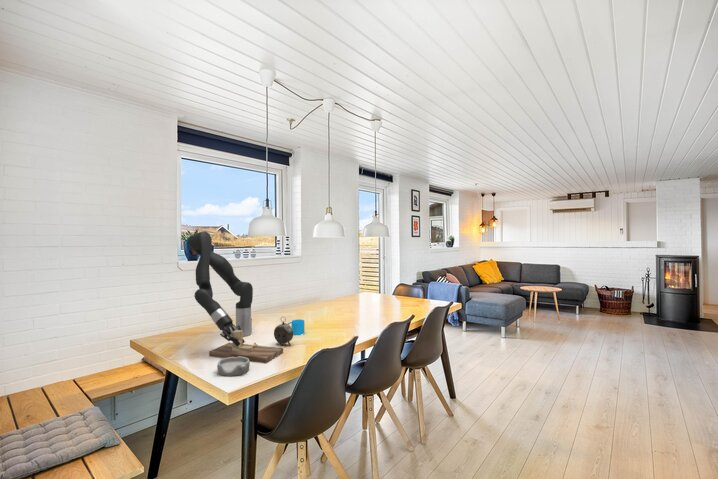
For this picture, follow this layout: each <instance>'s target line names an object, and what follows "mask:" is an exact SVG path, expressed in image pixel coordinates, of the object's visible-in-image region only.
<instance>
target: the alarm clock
mask: <svg viewBox="0 0 718 479" xmlns="http://www.w3.org/2000/svg"><path fill="white" fill-rule="evenodd" d="M282 318H284V321H282V320H280V322H282V323H280V324H278V325H277V326H276V327H274V330H273V337H274V339H275V340H276V342H277V344H279V346H280V347H281V346H282V345H283V344H284V345H286V344H287V343H288V345H289V346H291V343H290V342H291V341H292V340H293V337H294V335H293V330H292V326H290V324H289V325H288V323H285V322H286V321H287V320H286V319H287V318H286V317H285V316H281V317H280V319H282Z"/></svg>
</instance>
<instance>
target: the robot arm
mask: <svg viewBox="0 0 718 479" xmlns="http://www.w3.org/2000/svg"><path fill="white" fill-rule="evenodd" d="M187 244H188V245H189V247H190V248H191V250H193V251H194V252H195V253H196V254H198V255H199V259H198V261H197V264H196V266H195V284H196V285H197V286H198V288H199V289H197V290H196V291H195V293H194V299H195V301H196V302H197V303H198V304H199V305H200V306H201V307H202V308H203V309H204V310H205V311H206V313H207V314H208V315H209V316H210V318H211V320H212V322H213V323H215V324H214V325H215V326H217V328H218V329H219V331H222V332H221V333H220V334H219V335H220V336H221V337H222V338H223V339H225V340H226V341H227V342H232V341H233V342H234V344H235V345H236V346H239V345H240V342H239V341H238V340H237V339H236V337H235V336H234V333H233V331H235V330H242V331H243V337H247V336H250V335H251V334H252V333H253V327H252V326H253V319H252V303H253V296H254V295H253V294H254V288H253V285H252V284H251V282H246V281H242V280H241V279H239V277H237V276H236V274H235V271H234V268H233V266H232V264H231V263H230V262H229V261H228V259H227V258H226V257H224V256H223V255H220V254H219V253H217V252H214V251H212V244H213V242H212V236H211V234H210V233H209V232H208V231H205V230H204V231H201V232H197V233H193V234H192V235H189V236H188V238H187ZM210 267H211V268H212V269H213V271H214V272H215V273H216V274H217V275H218V276H219V277H220V278H221V279H222V281H224V282H225V283H226V284H227V285H228V287H229V288H230V290H231V291H232V292H233V293H234V295H235V296H237V297H239V301H237V302H236V304H235V324H234V323H233V319H232V318H231V317H230V315H229V314H228V313H227V312H226V310H225V309H224V308H223V307H222V306H221V304H220V303H219V302H217V301H216V300H215V299H213V296H214V293H213V288H212V284H211V278H210V277H211V275H210ZM245 342H246V341H245V339H244V338H243V344H245Z"/></svg>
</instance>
